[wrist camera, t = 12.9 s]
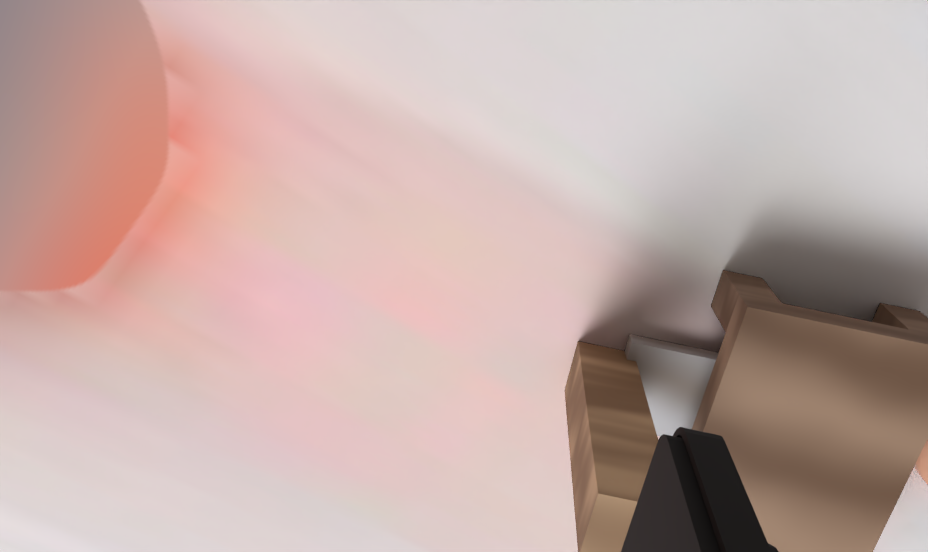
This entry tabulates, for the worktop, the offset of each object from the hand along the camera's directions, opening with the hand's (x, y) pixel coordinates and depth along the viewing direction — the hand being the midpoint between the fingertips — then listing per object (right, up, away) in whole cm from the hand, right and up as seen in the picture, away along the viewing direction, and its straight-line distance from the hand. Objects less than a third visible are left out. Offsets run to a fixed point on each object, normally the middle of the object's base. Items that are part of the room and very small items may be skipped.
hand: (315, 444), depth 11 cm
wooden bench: (+19, -5, +31) cm, 36 cm away
